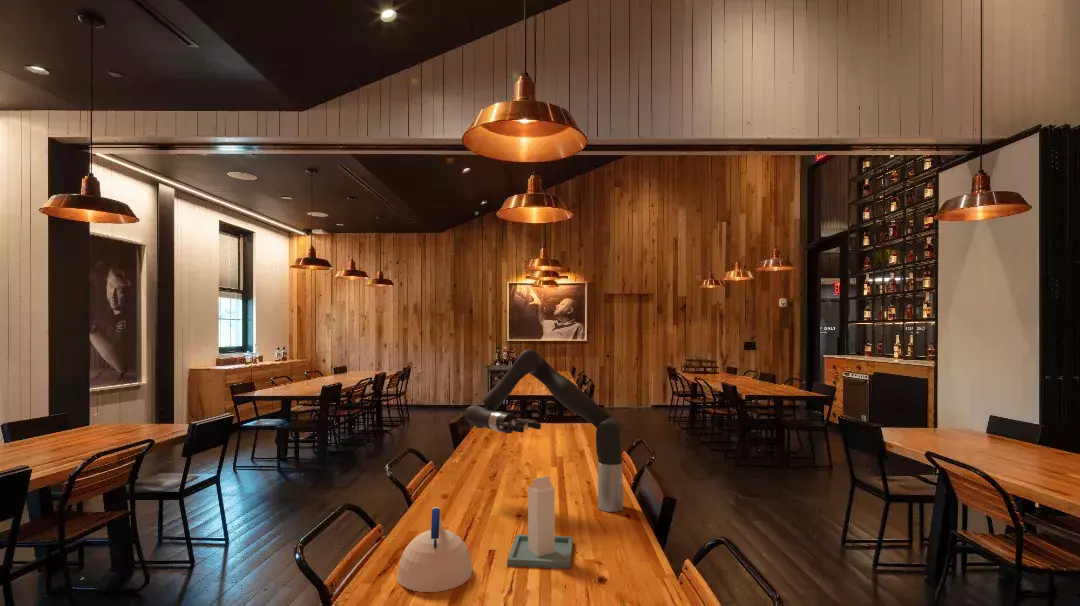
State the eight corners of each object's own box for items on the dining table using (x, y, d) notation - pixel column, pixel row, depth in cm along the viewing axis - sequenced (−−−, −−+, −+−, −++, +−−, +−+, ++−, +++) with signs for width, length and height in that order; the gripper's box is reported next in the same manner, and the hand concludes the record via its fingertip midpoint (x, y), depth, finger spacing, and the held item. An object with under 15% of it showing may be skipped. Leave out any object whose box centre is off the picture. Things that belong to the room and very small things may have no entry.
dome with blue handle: (470, 555, 154) (471, 494, 155) (473, 590, 134) (474, 519, 134) (401, 560, 150) (402, 498, 151) (393, 597, 130) (394, 524, 131)
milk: (554, 553, 154) (555, 478, 155) (537, 557, 151) (538, 481, 152) (544, 545, 159) (544, 473, 160) (527, 549, 156) (528, 476, 157)
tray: (572, 542, 163) (572, 536, 163) (570, 568, 145) (570, 562, 145) (516, 540, 165) (516, 534, 165) (507, 565, 147) (507, 559, 147)
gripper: (488, 414, 193) (517, 419, 181) (516, 410, 203) (545, 415, 191) (488, 434, 192) (517, 441, 181) (516, 429, 202) (545, 435, 191)
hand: (531, 427), depth 186 cm, fingers open, 8 cm apart
